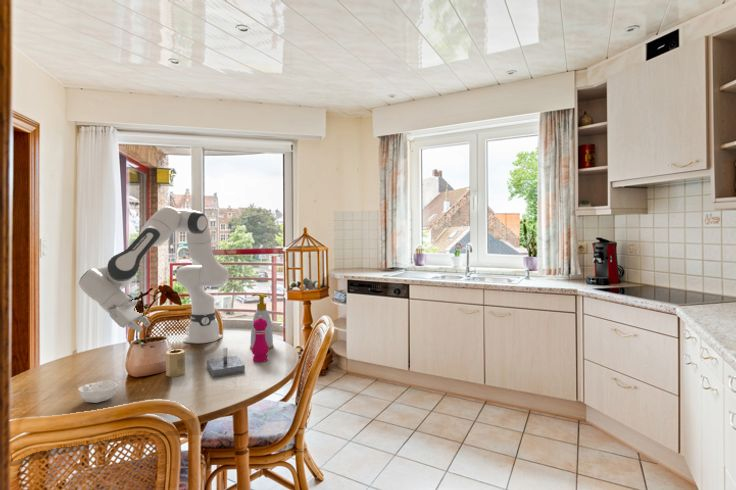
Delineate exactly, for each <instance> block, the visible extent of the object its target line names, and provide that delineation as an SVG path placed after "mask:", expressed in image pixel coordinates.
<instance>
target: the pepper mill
mask: <svg viewBox="0 0 736 490" xmlns="http://www.w3.org/2000/svg"><path fill="white" fill-rule="evenodd" d="M258 318H259V319H256V320H255V321H254V323H253V327H254V328H255V330H254V331H255V332H254V333H255V335H256V337H255V342H254V345H253V347H252V349H251V353H252V355H253V356H252V361H253V362H254V363H263V362H264V363H265V362H266V361H268V355H267V354H268V353H269V350H270V349H269V348H268V345H267V342H266V340H265V333H266V329H265V328H266V327H267V321H266V320H265V319H262V316H261V315H259V316H258Z"/></svg>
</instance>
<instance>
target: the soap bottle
mask: <svg viewBox="0 0 736 490" xmlns="http://www.w3.org/2000/svg"><path fill="white" fill-rule="evenodd" d="M251 296H252V297H256V296H258V297H259V302H258V303H256V311H255V312H254V315H253V318H252V322H251V323H252V324H251V331H250V345H249V348H250V350H252V347H253V345H254V342H255V337H256V335H255V333H254V332H255V331H254V330H255V328H254V327H253V323H254V321H255V320H256V319H259V318H258V316H259V315H261V316H262V319H265V320H266V321H267V327H266V328H265V329H266V333H265V340H266V342H267V345H268V348H269V350H271V349H272V347H273V348H274V343H273V342H274V339H273V337H274V336H273V327H272V321H271V316H270V314H269V311H268V310H267V302H265V298H268V295H267V294H264V293H255V294H252V295H251ZM270 348H271V349H270Z"/></svg>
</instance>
